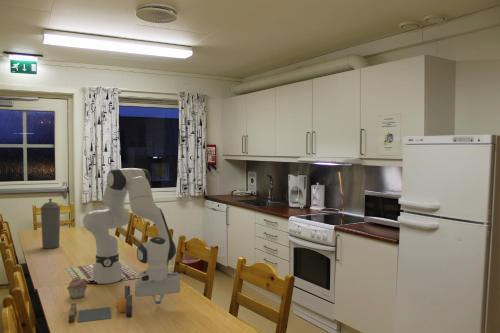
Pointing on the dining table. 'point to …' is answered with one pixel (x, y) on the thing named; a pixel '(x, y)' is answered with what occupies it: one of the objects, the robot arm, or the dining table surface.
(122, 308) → the ball
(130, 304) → the post
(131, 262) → the dining table surface
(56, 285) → the dining table surface
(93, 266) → the robot arm
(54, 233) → the canister
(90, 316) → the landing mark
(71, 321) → the stopper wall
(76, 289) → the cupcake
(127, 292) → the post
